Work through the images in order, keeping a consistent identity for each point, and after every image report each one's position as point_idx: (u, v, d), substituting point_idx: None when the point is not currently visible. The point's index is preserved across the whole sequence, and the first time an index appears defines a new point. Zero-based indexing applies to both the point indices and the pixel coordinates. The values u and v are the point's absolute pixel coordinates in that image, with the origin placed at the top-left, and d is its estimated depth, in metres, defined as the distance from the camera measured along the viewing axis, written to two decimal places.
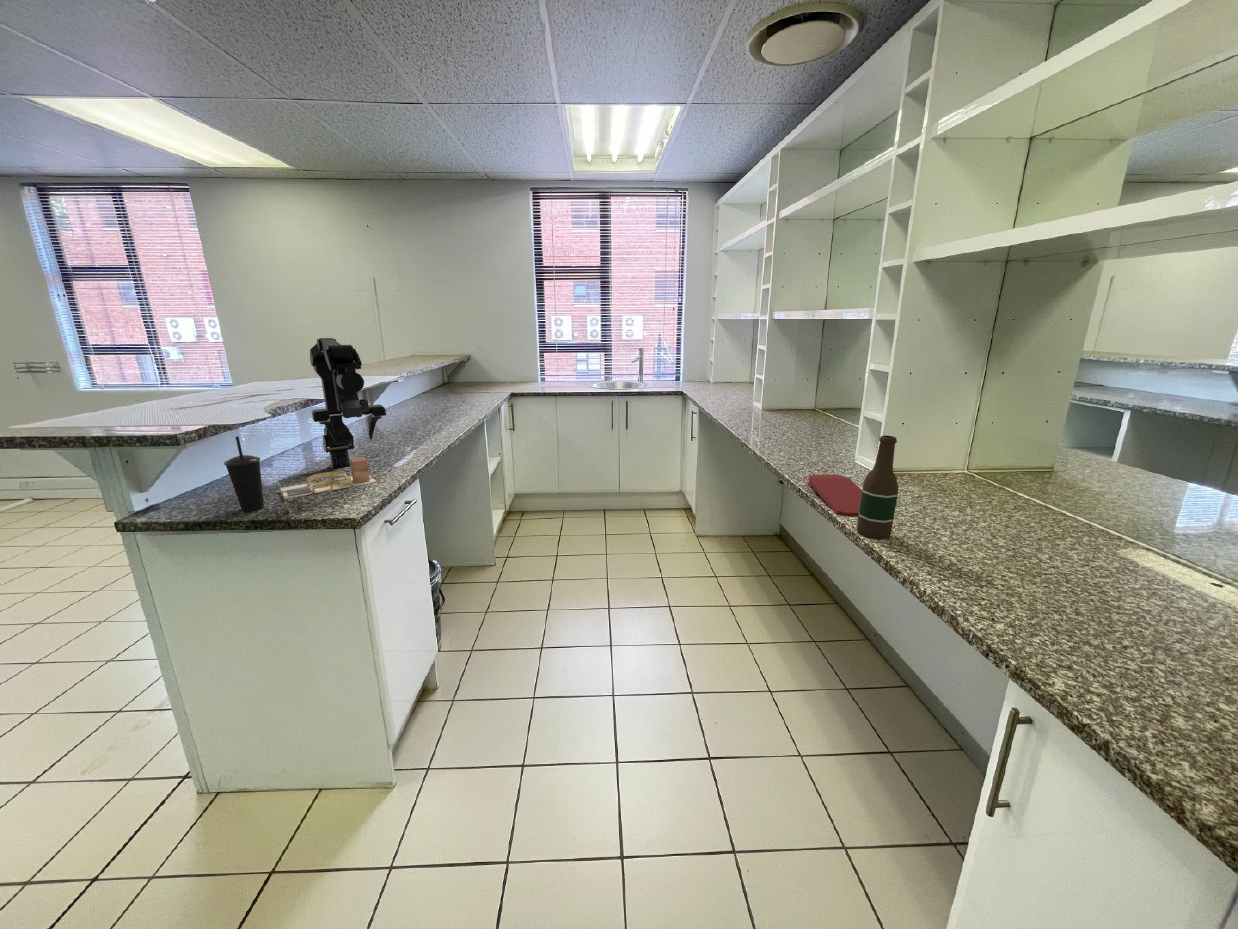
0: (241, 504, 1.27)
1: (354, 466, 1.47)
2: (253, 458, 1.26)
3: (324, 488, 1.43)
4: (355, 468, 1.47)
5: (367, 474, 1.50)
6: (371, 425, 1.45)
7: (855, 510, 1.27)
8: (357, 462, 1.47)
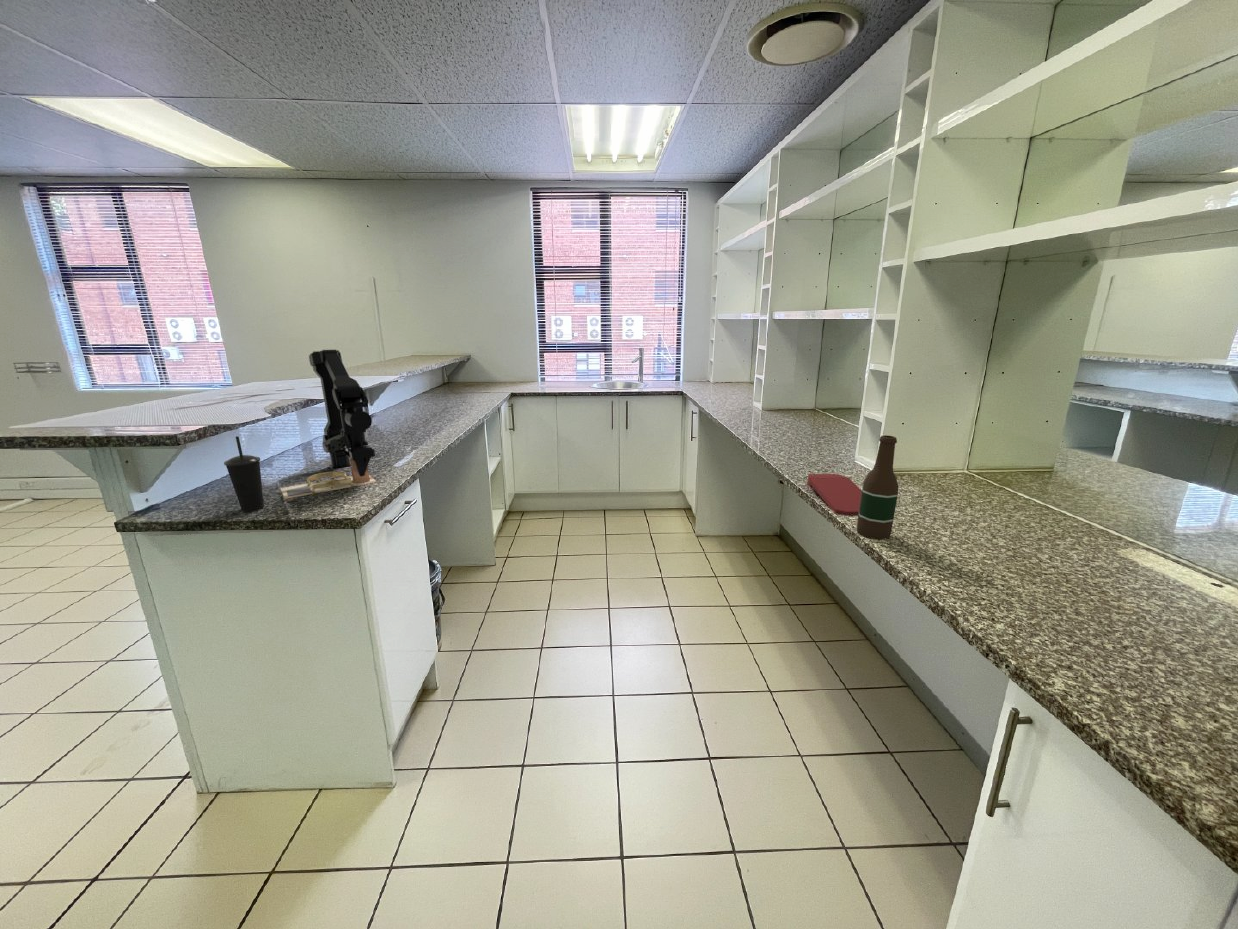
0: (241, 504, 1.27)
1: (354, 466, 1.47)
2: (253, 458, 1.26)
3: (324, 488, 1.43)
4: (355, 468, 1.47)
5: (367, 474, 1.50)
6: (355, 463, 1.46)
7: (854, 509, 1.28)
8: None
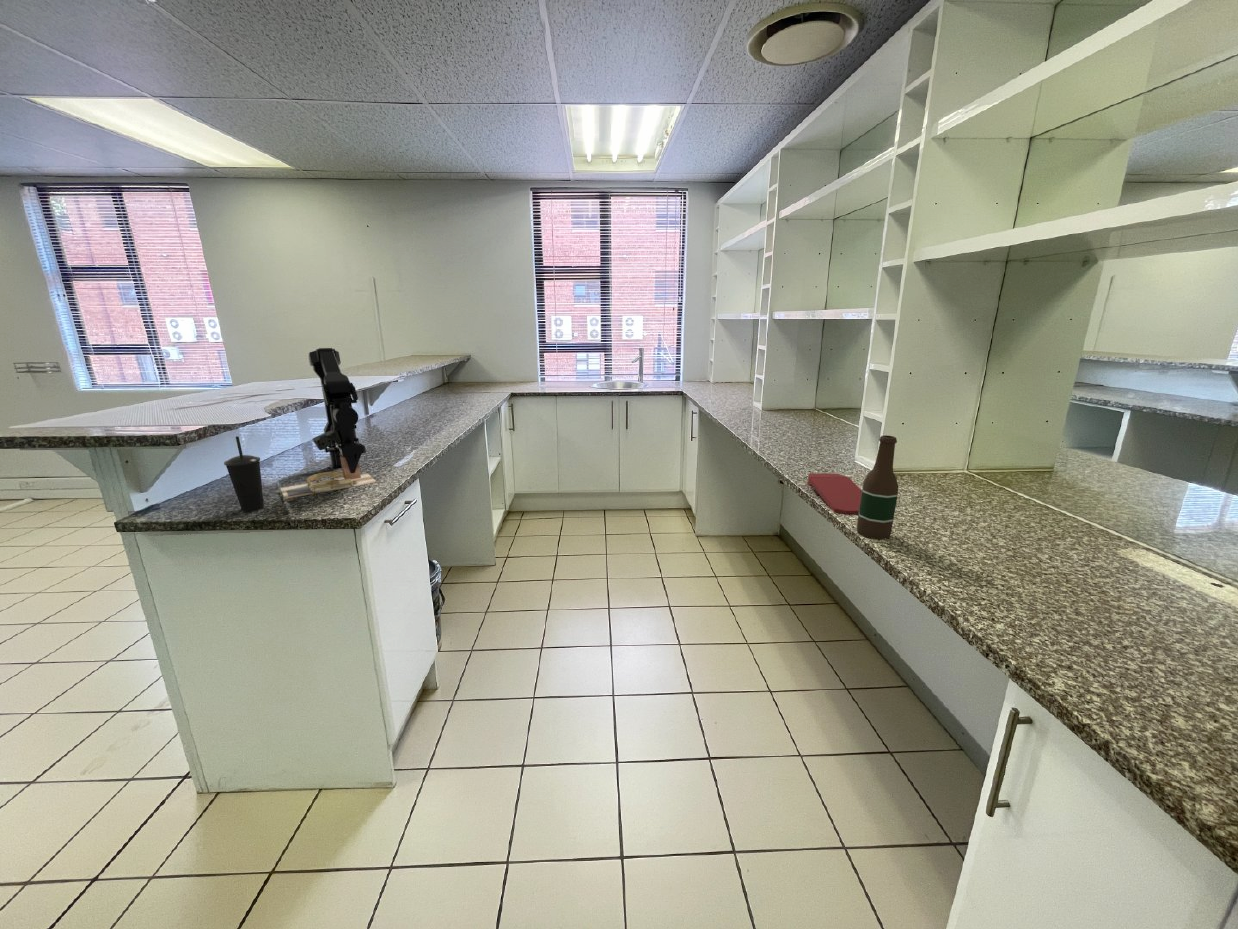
0: (241, 504, 1.27)
1: (344, 463, 1.45)
2: (253, 458, 1.26)
3: (324, 488, 1.43)
4: (345, 465, 1.45)
5: (358, 471, 1.48)
6: (346, 460, 1.44)
7: (853, 509, 1.29)
8: None
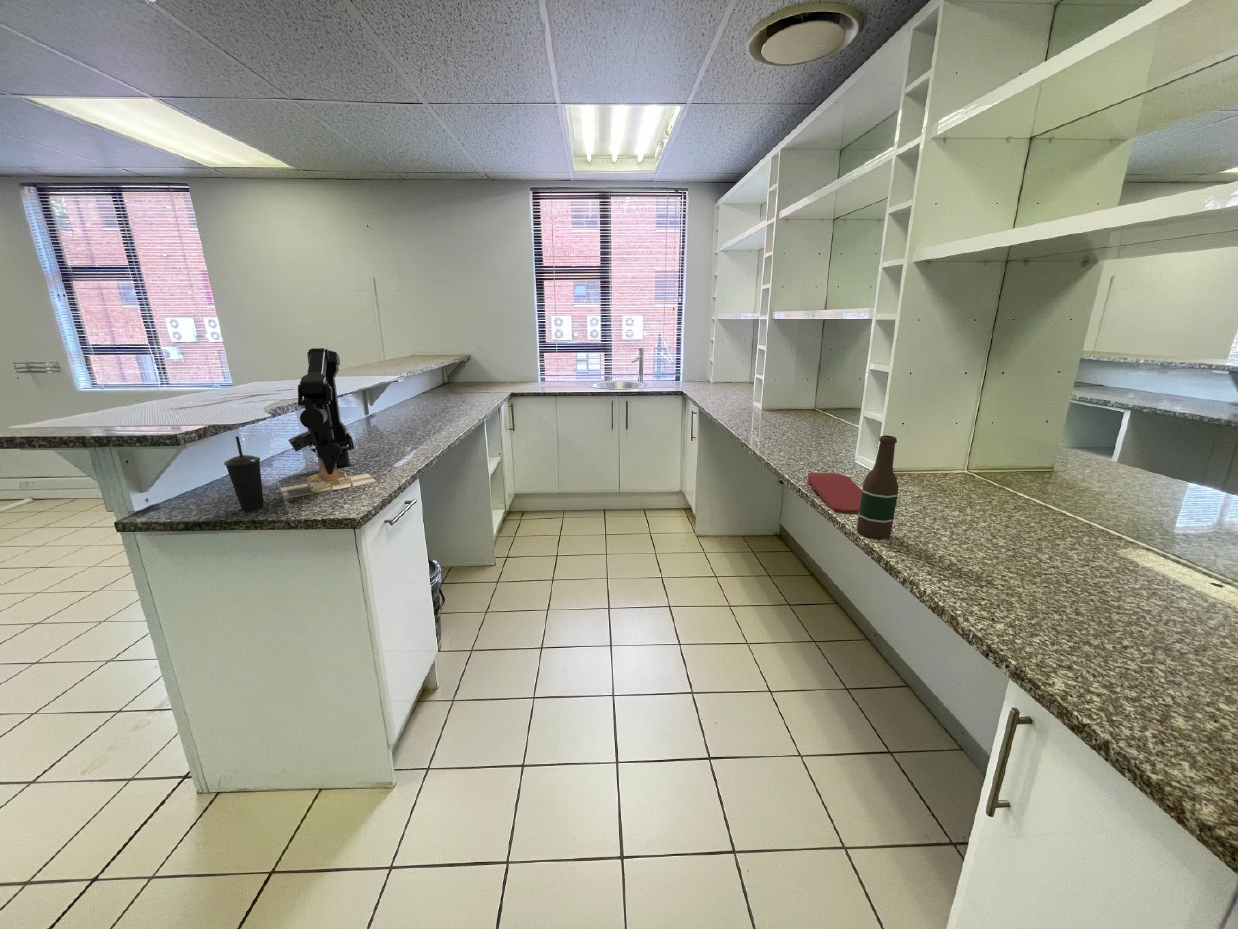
0: (241, 504, 1.27)
1: (321, 464, 1.44)
2: (253, 458, 1.26)
3: (324, 488, 1.43)
4: (322, 466, 1.44)
5: (335, 472, 1.46)
6: (323, 461, 1.43)
7: (852, 508, 1.29)
8: None
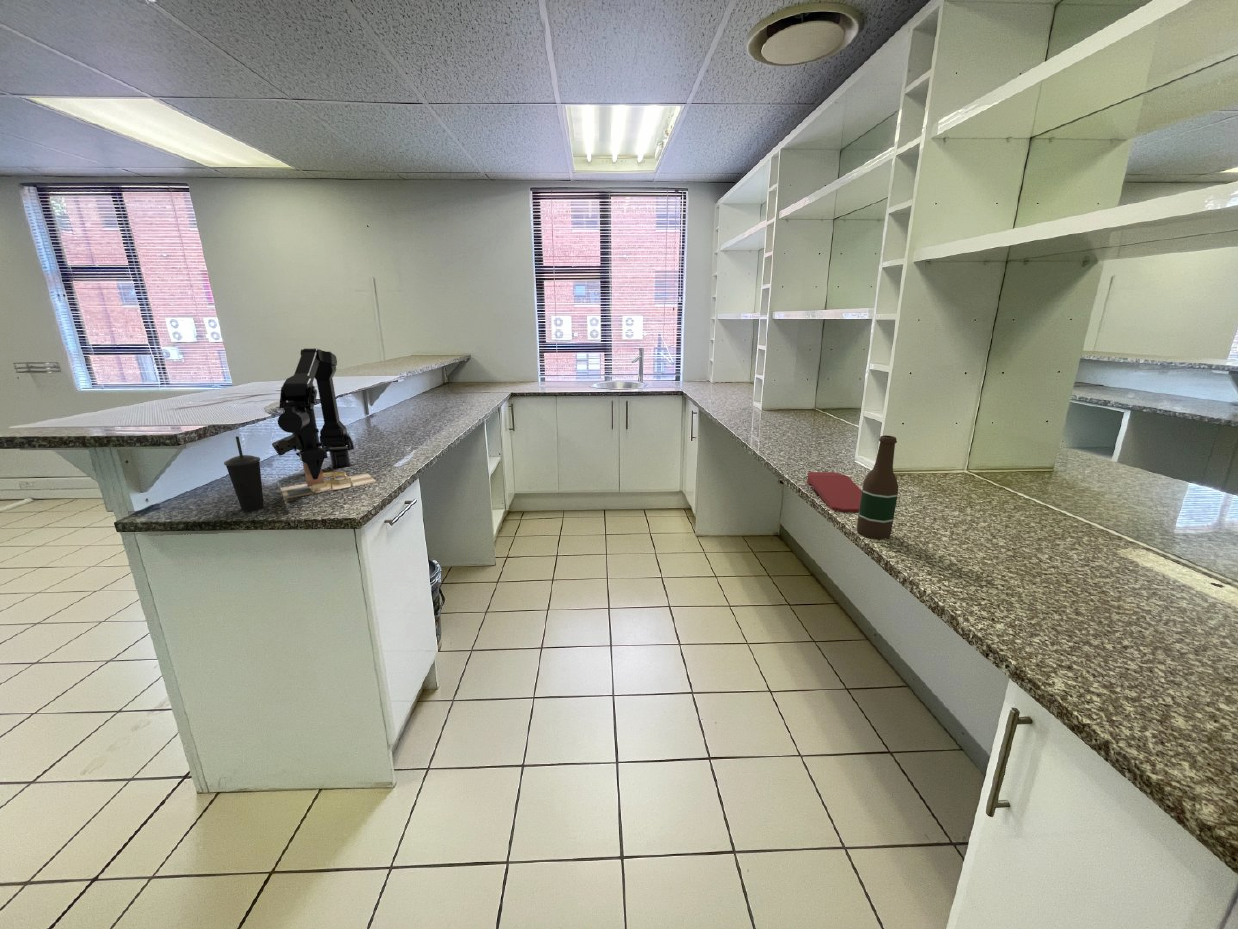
0: (241, 504, 1.27)
1: (306, 469, 1.39)
2: (253, 458, 1.26)
3: (324, 488, 1.43)
4: (307, 471, 1.39)
5: (321, 477, 1.42)
6: None
7: (851, 507, 1.30)
8: None
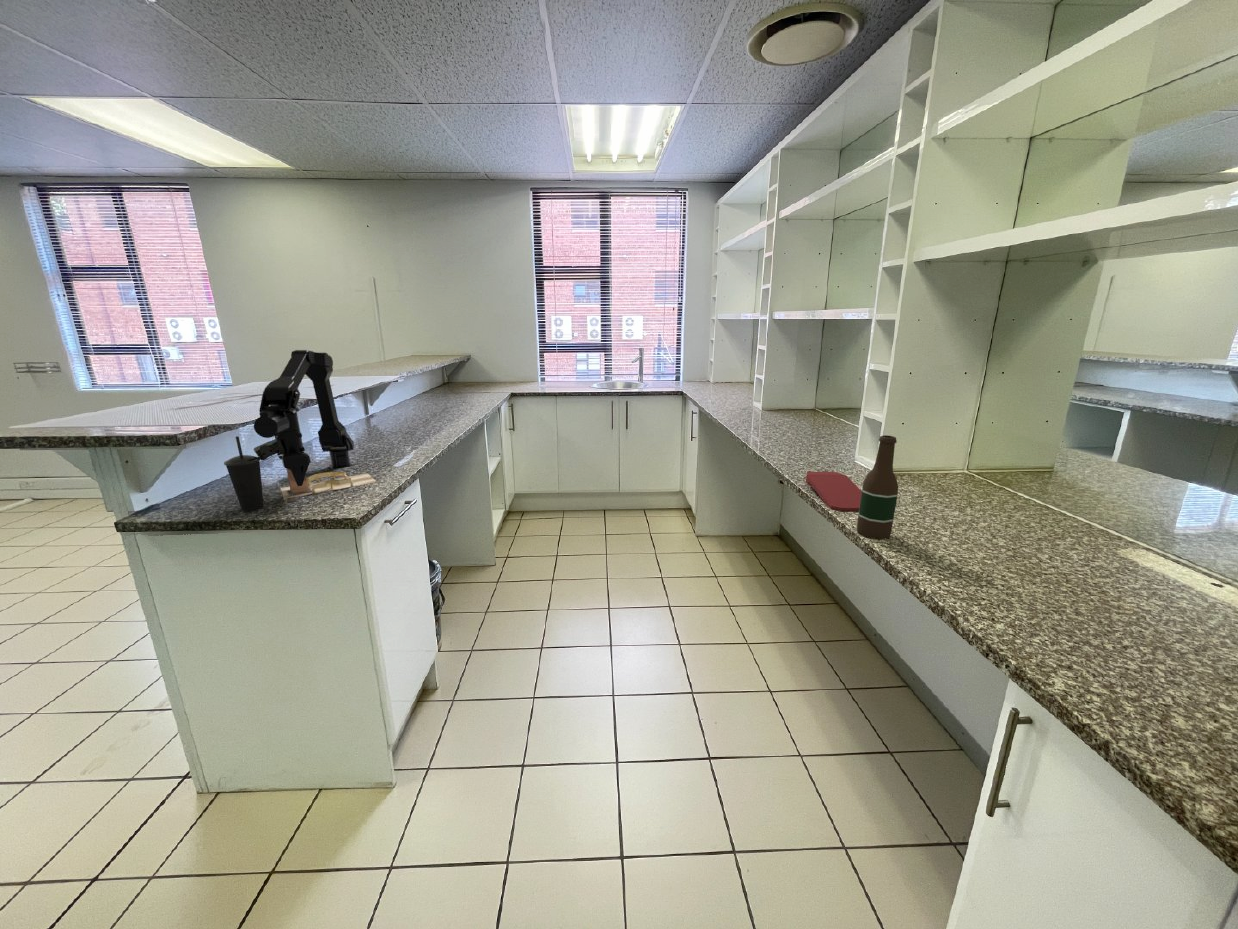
0: (241, 504, 1.27)
1: (290, 475, 1.36)
2: (253, 458, 1.26)
3: (324, 488, 1.43)
4: (291, 477, 1.37)
5: (305, 483, 1.39)
6: None
7: (849, 506, 1.31)
8: None
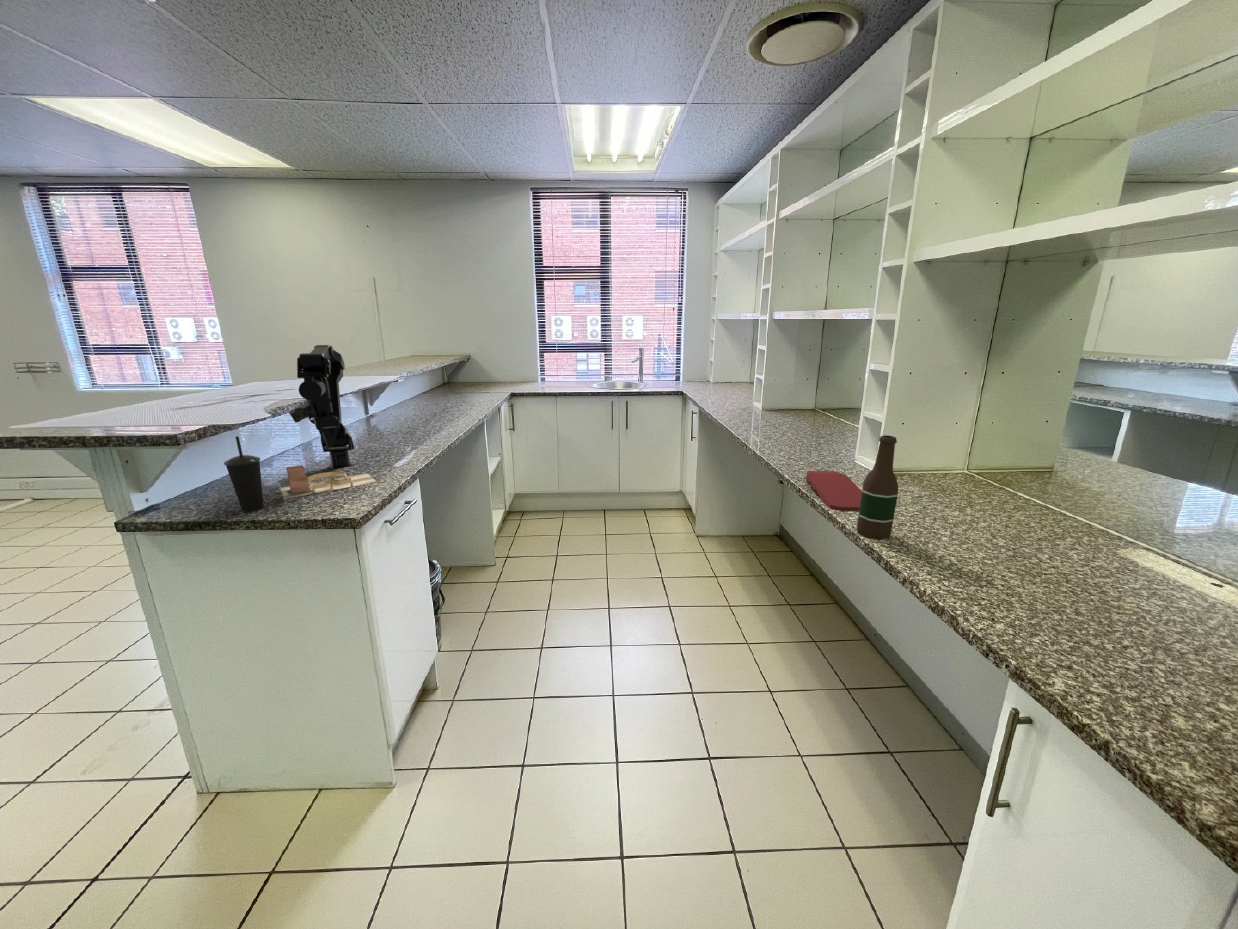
0: (241, 504, 1.27)
1: (290, 475, 1.36)
2: (253, 458, 1.26)
3: (324, 488, 1.43)
4: (291, 477, 1.37)
5: (305, 483, 1.39)
6: (323, 434, 1.46)
7: (848, 505, 1.31)
8: (293, 471, 1.37)
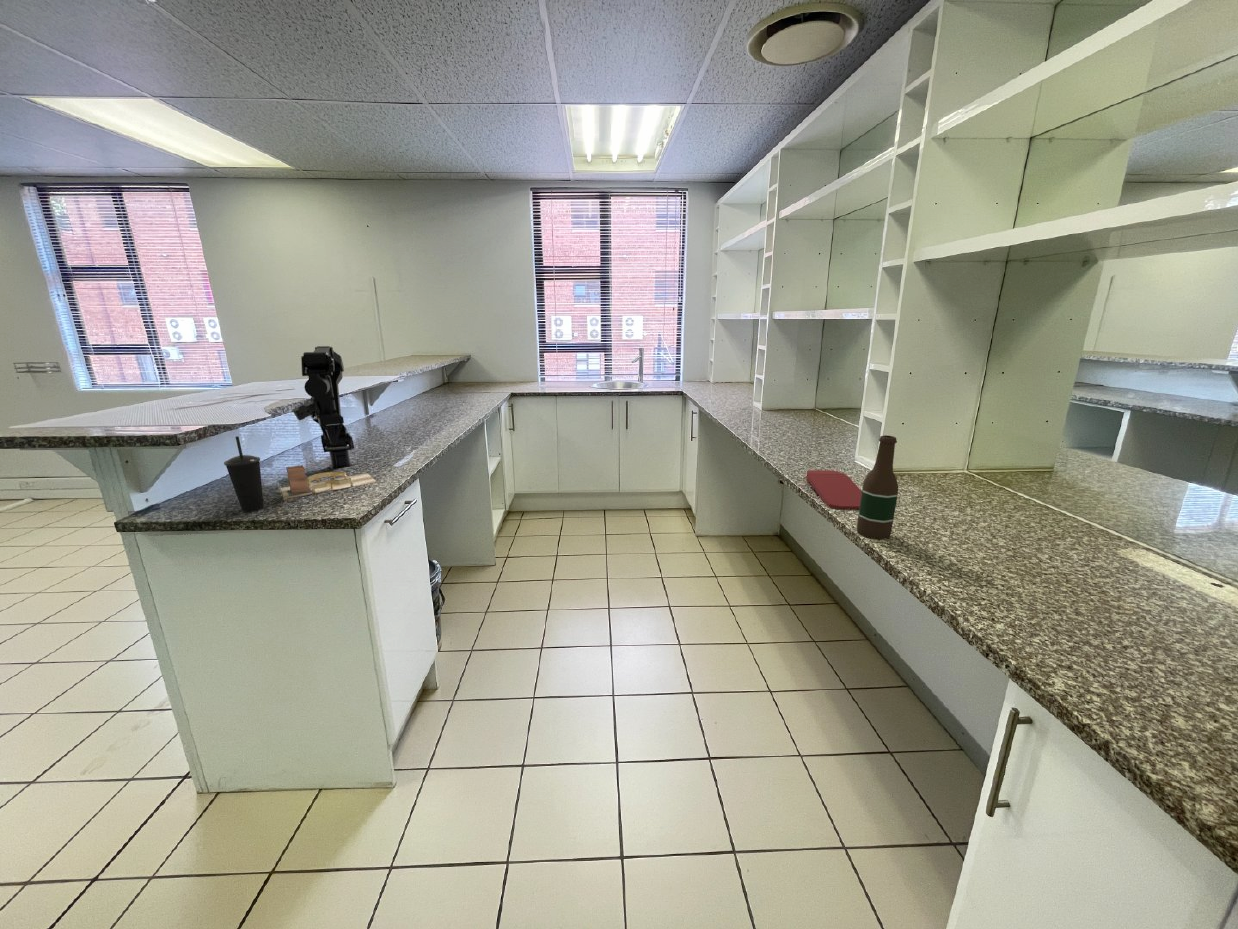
0: (241, 504, 1.27)
1: (290, 475, 1.36)
2: (253, 458, 1.26)
3: (324, 488, 1.43)
4: (291, 477, 1.37)
5: (305, 483, 1.39)
6: (326, 432, 1.47)
7: (847, 504, 1.32)
8: (293, 471, 1.37)
